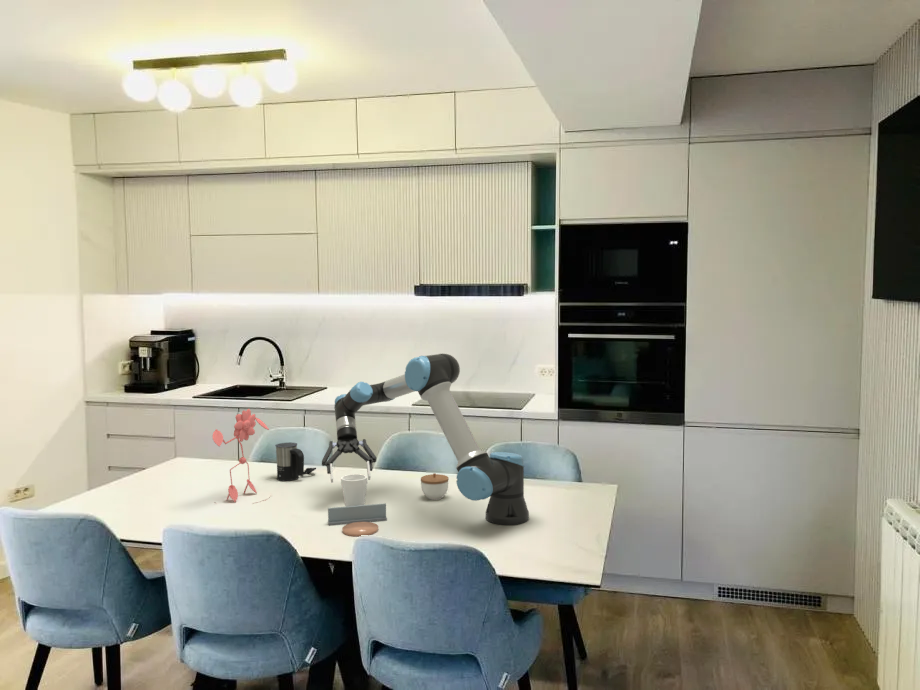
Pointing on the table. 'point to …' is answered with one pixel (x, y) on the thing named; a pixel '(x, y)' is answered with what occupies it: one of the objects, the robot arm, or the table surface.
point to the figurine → (243, 431)
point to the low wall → (357, 514)
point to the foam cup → (354, 489)
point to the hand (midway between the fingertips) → (350, 479)
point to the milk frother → (290, 462)
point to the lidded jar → (434, 486)
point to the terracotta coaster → (360, 528)
